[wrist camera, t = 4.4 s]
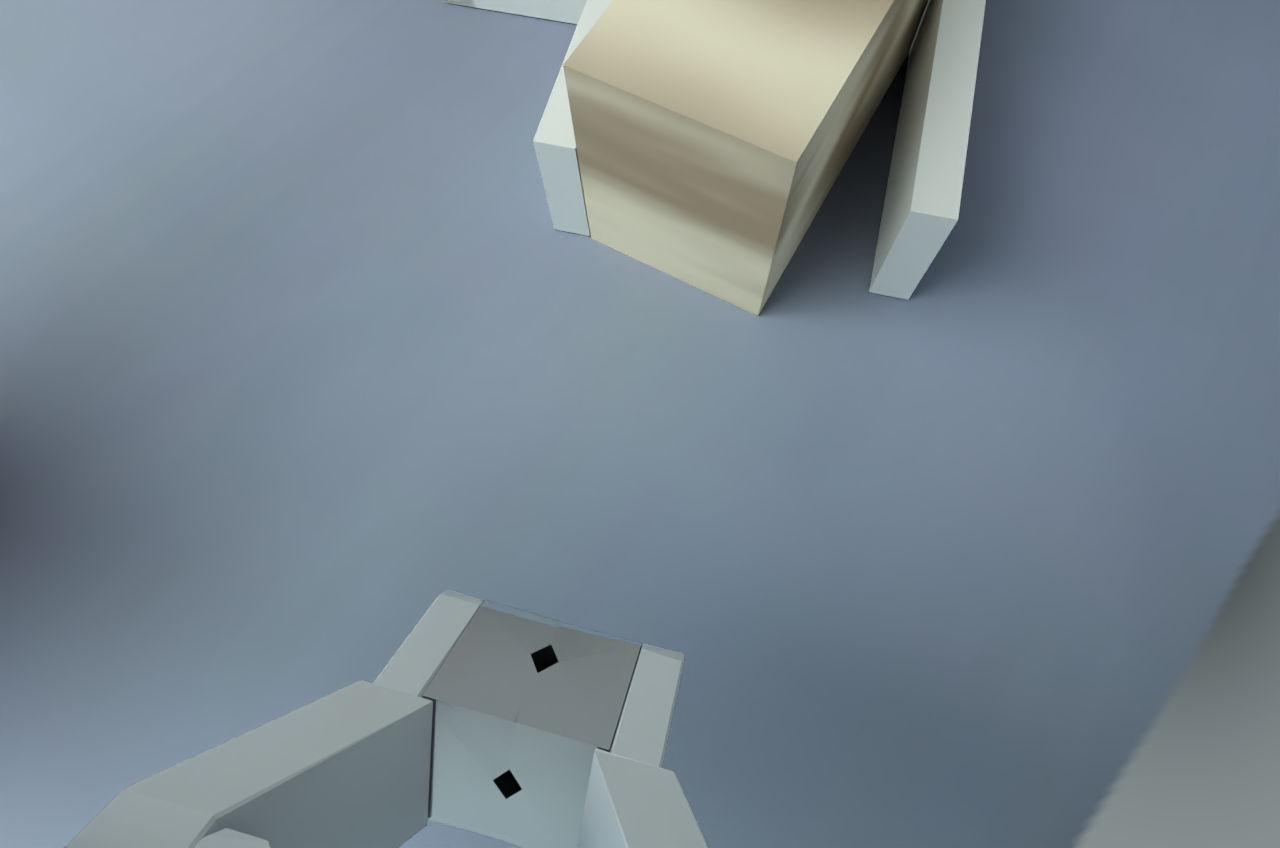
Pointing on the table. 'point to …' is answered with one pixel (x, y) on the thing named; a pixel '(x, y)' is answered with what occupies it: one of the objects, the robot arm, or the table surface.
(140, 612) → the table surface
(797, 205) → the birch block
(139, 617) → the table surface
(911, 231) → the trap lane
